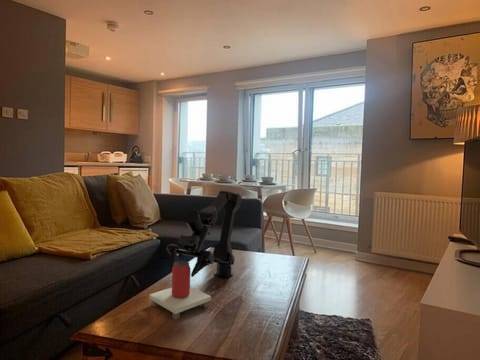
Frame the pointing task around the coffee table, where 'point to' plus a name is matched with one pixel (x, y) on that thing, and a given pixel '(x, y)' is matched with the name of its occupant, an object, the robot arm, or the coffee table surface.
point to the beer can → (181, 279)
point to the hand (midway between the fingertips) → (180, 274)
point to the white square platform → (179, 301)
